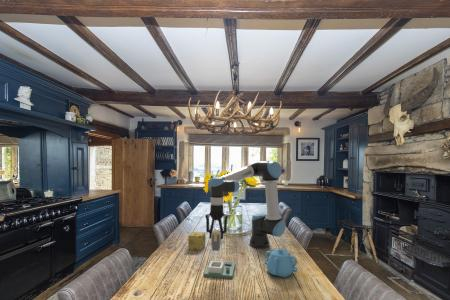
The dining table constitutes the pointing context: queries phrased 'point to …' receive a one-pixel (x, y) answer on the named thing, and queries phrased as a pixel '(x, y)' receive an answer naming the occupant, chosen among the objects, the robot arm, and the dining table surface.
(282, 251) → the decorative pot
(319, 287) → the dining table surface
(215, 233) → the plug
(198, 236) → the cheese
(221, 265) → the header board
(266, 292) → the dining table surface
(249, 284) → the dining table surface
